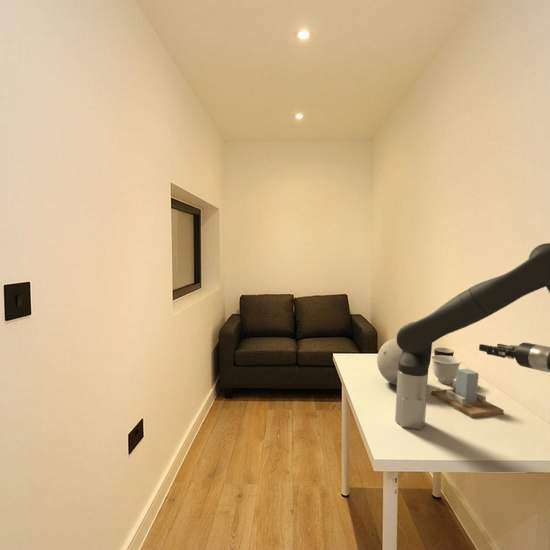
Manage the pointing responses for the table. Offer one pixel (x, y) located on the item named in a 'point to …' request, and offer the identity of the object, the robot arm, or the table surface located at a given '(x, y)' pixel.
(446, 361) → the teacup
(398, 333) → the robot arm
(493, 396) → the table surface
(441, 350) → the coffee mug
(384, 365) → the moon model
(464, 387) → the block
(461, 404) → the plate
